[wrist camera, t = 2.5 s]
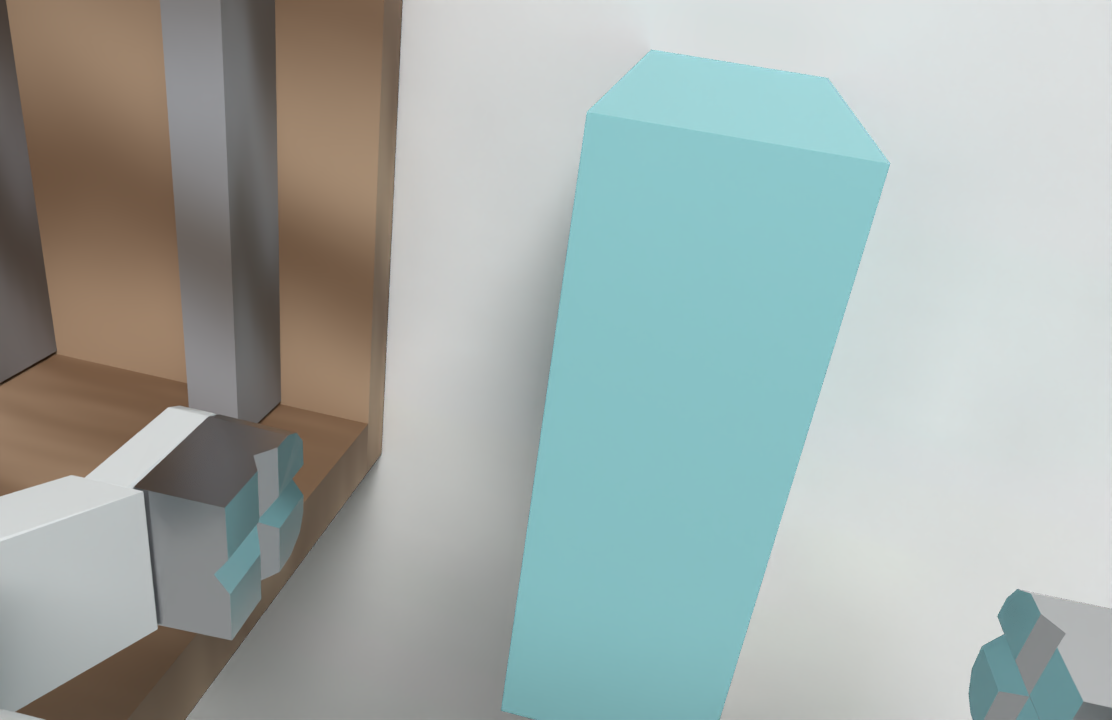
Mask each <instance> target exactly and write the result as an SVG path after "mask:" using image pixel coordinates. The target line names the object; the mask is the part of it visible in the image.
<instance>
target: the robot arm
mask: <svg viewBox="0 0 1112 720" xmlns="http://www.w3.org/2000/svg"><path fill="white" fill-rule="evenodd" d="M302 466H303V440H302V439H301V438H300V437H299V435H298V434H297V433H296V432H291V431H287V430H283V429H279V428H275V427H270V426H266V425H262V424H258V423H254V422H249V421H245V420H241V419H237V418H233V417H229V416H224V415H220V414H218V415H216V414H214V413H211V412H207V411H202V410H197V409H193V408H188V407H183V406H174V407H168V408H167V409H165V410H164V411H163V412H162V413H161V414H159V415H158V416H157V417H156V418H155V419H154V420H152V421H151V422H150V423H149V424H148V425H146V426H145V427H144V428H143V429H142V430H141V431H139V432H138V433H137V434H136V435H135V436H133V437H132V438H131V439H130V440H129V441H127V442H126V443H125V444H124V445H123V446H122V447H120V448H119V449H118V450H117V451H116V452H114V453H113V454H112V455H111V456H110V457H109V458H107V459H106V460H105V461H104V462H103V463H101V464H100V465H99V466H98V467H97V468H96V469H94V470H93V471H92V472H91V473H90V474H88V475H87V476H86V477H85V478H83V477H78V476H73V475H70V476H67V477H63V478H60V479H57V480H53V481H50V482H47V483H43V484H40V485H37V486H33V487H30V488H27V489H23V490H20V491H17V492H13V493H10V494H7V495H3V496H0V720H45V719H41V718H37V717H33V716H29V715H25V714H21V713H17V712H15V711H17V710H19V709H21V708H22V707H24V706H26V705H28V704H29V703H31V702H33V701H34V700H36V699H38V698H40V697H41V696H43V695H45V694H47V693H48V692H50V691H52V690H53V689H55V688H57V687H59V686H60V685H62V684H64V683H66V682H67V681H69V680H71V679H72V678H74V677H76V676H78V675H79V674H81V673H83V672H85V671H86V670H88V669H90V668H92V667H93V666H95V665H97V664H98V663H100V662H102V661H104V660H105V659H107V658H109V657H111V656H112V655H114V654H116V653H117V652H119V651H121V650H123V649H124V648H126V647H128V646H130V645H131V644H133V643H135V642H136V641H138V640H140V639H142V638H143V637H145V636H147V635H149V634H150V633H152V632H154V631H156V630H157V629H158V625H160V626H165V627H170V628H175V629H179V630H184V631H189V632H194V633H199V634H203V635H208V636H213V637H218V638H223V639H227V640H233V638H234V637H235V636H236V634H237V633H238V631H239V630H240V628H241V627H242V625H243V624H244V623H245V621H246V620H247V618H248V617H249V615H250V614H251V613H252V611H253V610H254V608H255V607H256V605H257V604H258V603H259V601H260V600H261V580H263V579H266V578H268V577H270V576H272V575H274V574H276V573H279V572H280V571H281V569H282V568H283V566H284V565H285V563H286V562H287V560H288V559H289V557H290V555H291V553H292V551H293V548H294V546H295V543H296V541H297V538H298V535H299V533H300V528H301V523H302V517H303V496H304V495H303V494H302V492H301V491H300V489H299V488H298V486H297V485H296V484H295V482H294V481H293V477H294V476H295V475H296V473H297V472H298V471H299V470H300V468H301V467H302ZM998 619H999V622H1000V624H1001V627H1002V629H1003V632H1004V635H1002V636H1000V637H998V638H996V639H994V640H993V641H991V642H989V643H987V644H985V645H983V646H982V648H981V650H980V652H979V654H978V657H977V659H976V661H975V663H974V665H973V668H972V672H971V679H970V687H969V702H970V711H971V716H972V719H973V720H1112V609H1111V608H1106V607H1101V606H1096V605H1092V604H1087V603H1082V602H1077V601H1072V600H1067V599H1063V598H1058V597H1053V596H1048V595H1043V594H1038V593H1034V592H1029V591H1024V590H1019V589H1017V590H1016V591H1015V592H1014V593H1012V594H1011V595H1010V596H1009V597H1008V598H1007V599H1006V601H1005V603H1004V605H1003V606H1002V608H1001V610H1000V612H999V614H998Z"/></svg>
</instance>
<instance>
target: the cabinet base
mask: <svg viewBox="0 0 1112 720" xmlns="http://www.w3.org/2000/svg"><path fill="white" fill-rule="evenodd" d="M401 17H402V0H0V496H3V495H7V494H10V493H13V492H17V491H20V490H23V489H27V488H30V487H33V486H37V485H40V484H43V483H47V482H50V481H53V480H57V479H60V478H63V477H67V476H70V475H73V476H78V477H83V478H85V477H86V476H87V475H88V474H90V473H91V472H92V471H93V470H94V469H96V468H97V467H98V466H99V465H100V464H101V463H103V462H104V461H105V460H106V459H107V458H109V457H110V456H111V455H112V454H113V453H114V452H116V451H117V450H118V449H119V448H120V447H122V446H123V445H124V444H125V443H126V442H127V441H129V440H130V439H131V438H132V437H133V436H135V435H136V434H137V433H138V432H139V431H141V430H142V429H143V428H144V427H145V426H146V425H148V424H149V423H150V422H151V421H152V420H154V419H155V418H156V417H157V416H158V415H159V414H161V413H162V412H163V411H164V410H165V409H167V408H168V407H174V406H183V407H188V408H193V409H197V410H202V411H207V412H211V413H214V414H216V415H218V414H220V415H224V416H229V417H233V418H237V419H241V420H245V421H249V422H254V423H258V424H262V425H266V426H270V427H275V428H279V429H283V430H287V431H291V432H296V433H297V434H298V435H299V437H300V438H301V439H302V440H303V466H302V467H301V468H300V470H299V471H298V472H297V473H296V475H295V476H294V477H293V481H294V482H295V484H296V485H297V486H298V488H299V489H300V491H301V492H302V494H303V495H304V496H303V517H302V523H301V528H300V533H299V535H298V538H297V541H296V543H295V546H294V548H293V551H292V553H291V555H290V557H289V559H288V560H287V562H286V563H285V565H284V566H283V568H282V569H281V571H280V572H279V573H276V574H274V575H272V576H270V577H268V578H266V579H263V580H261V600H260V601H259V603H258V604H257V605H256V607H255V608H254V610H253V611H252V613H251V614H250V615H249V617H248V618H247V620H246V621H245V623H244V624H243V625H242V627H241V628H240V630H239V631H238V633H237V634H236V636H235V637H234V638H233V640H227V639H223V638H218V637H213V636H208V635H203V634H199V633H194V632H189V631H184V630H179V629H175V628H170V627H165V626H160V625H158V629H157V630H156V631H154V632H152V633H150V634H149V635H147V636H145V637H143V638H142V639H140V640H138V641H136V642H135V643H133V644H131V645H130V646H128V647H126V648H124V649H123V650H121V651H119V652H117V653H116V654H114V655H112V656H111V657H109V658H107V659H105V660H104V661H102V662H100V663H98V664H97V665H95V666H93V667H92V668H90V669H88V670H86V671H85V672H83V673H81V674H79V675H78V676H76V677H74V678H72V679H71V680H69V681H67V682H66V683H64V684H62V685H60V686H59V687H57V688H55V689H53V690H52V691H50V692H48V693H47V694H45V695H43V696H41V697H40V698H38V699H36V700H34V701H33V702H31V703H29V704H28V705H26V706H24V707H22V708H21V709H19V710H17V711H15V712H17V713H21V714H25V715H29V716H33V717H37V718H41V719H45V720H185V719H186V718H187V716H188V715H189V714H190V712H191V711H192V710H193V708H194V707H195V705H196V704H197V703H198V701H199V700H200V699H201V697H202V696H203V695H204V693H205V692H206V691H207V689H208V688H209V686H210V685H211V684H212V682H213V681H214V680H215V678H216V677H217V676H218V674H219V673H220V672H221V670H222V669H223V668H224V666H225V665H226V663H227V662H228V661H229V659H230V658H231V657H232V655H233V654H234V653H235V651H236V650H237V649H238V647H239V646H240V645H241V643H242V642H243V640H244V639H245V638H246V636H247V635H248V634H249V632H250V631H251V630H252V628H253V627H254V626H255V624H256V623H257V622H258V620H259V619H260V617H261V616H262V615H263V613H264V612H265V611H266V609H267V608H268V607H269V605H270V604H271V603H272V601H273V600H274V598H275V597H276V596H277V594H278V593H279V592H280V590H281V589H282V588H283V586H284V585H285V584H286V582H287V581H288V580H289V578H290V577H291V575H292V574H293V573H294V571H295V570H296V569H297V567H298V566H299V565H300V563H301V562H302V561H303V559H304V558H305V557H306V555H307V554H308V552H309V551H310V550H311V548H312V547H313V546H314V544H315V543H316V542H317V540H318V539H319V538H320V536H321V535H322V534H323V532H324V531H325V529H326V528H327V527H328V525H329V524H330V523H331V521H332V520H333V519H334V517H335V516H336V515H337V513H338V512H339V510H340V509H341V508H342V506H343V505H344V504H345V502H346V501H347V500H348V498H349V497H350V496H351V494H352V493H353V492H354V490H355V489H356V487H357V486H358V485H359V483H360V482H361V481H362V479H363V478H364V477H365V475H366V474H367V473H368V471H369V470H370V469H371V467H372V466H373V464H374V463H375V462H376V460H377V459H378V458H379V456H380V455H381V449H382V428H383V406H384V384H385V363H386V341H387V320H388V298H389V276H390V255H391V233H392V212H393V190H394V168H395V147H396V125H397V103H398V82H399V60H400V39H401Z"/></svg>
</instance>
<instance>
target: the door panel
mask: <svg viewBox="0 0 1112 720" xmlns="http://www.w3.org/2000/svg"><path fill="white" fill-rule="evenodd" d="M889 166H890V163H889V161H888V160H887V159H886V157H885V156H884V155H883V153H882V152H881V150H880V149H879V148H878V146H877V145H876V144H875V142H874V141H873V139H872V138H871V137H870V135H869V134H868V133H867V131H866V130H865V128H864V127H863V126H862V124H861V123H860V122H859V120H858V119H857V117H856V116H855V115H854V113H853V112H852V111H851V109H850V108H849V106H848V105H847V104H846V102H845V101H844V100H843V98H842V97H841V95H840V94H839V93H838V91H837V90H836V89H835V87H834V86H833V84H832V83H831V82H830V80H829V79H828V78H824V77H818V76H812V75H806V74H800V73H793V72H787V71H781V70H775V69H768V68H762V67H756V66H750V65H744V64H737V63H731V62H725V61H719V60H713V59H706V58H700V57H694V56H688V55H682V54H675V53H669V52H663V51H657V50H651V51H650V52H648V53H647V54H646V55H645V56H644V57H643V58H642V59H641V60H640V61H639V62H638V63H637V64H636V65H635V66H634V67H633V68H632V69H631V70H630V71H629V72H628V73H627V74H626V75H625V76H624V77H623V78H622V79H621V80H619V81H618V82H617V83H616V84H615V85H614V86H613V87H612V88H611V89H610V90H609V91H608V92H607V93H606V94H605V95H604V96H603V97H602V98H601V99H600V100H599V101H598V102H597V103H596V104H595V105H594V106H593V107H592V108H590V109H589V110H588V111H587V115H586V122H585V129H584V136H583V143H582V150H581V157H580V164H579V171H578V178H577V185H576V192H575V199H574V206H573V213H572V220H571V227H570V234H569V241H568V248H567V255H566V262H565V269H564V275H563V282H562V289H561V296H560V303H559V310H558V317H557V324H556V331H555V338H554V345H553V352H552V359H551V366H550V373H549V380H548V387H547V394H546V401H545V408H544V415H543V422H542V429H541V436H540V443H539V450H538V457H537V464H536V470H535V477H534V484H533V491H532V498H531V505H530V512H529V519H528V526H527V533H526V540H525V547H524V554H523V561H522V568H521V575H520V582H519V589H518V596H517V603H516V610H515V617H514V624H513V631H512V638H511V645H510V652H509V658H508V665H507V672H506V679H505V686H504V693H503V700H502V707H501V711H504V712H508V713H512V714H516V715H519V716H523V717H527V718H531V719H535V720H720V716H721V713H722V710H723V707H724V703H725V700H726V697H727V694H728V690H729V687H730V684H731V680H732V677H733V674H734V671H735V667H736V664H737V661H738V658H739V654H740V651H741V648H742V645H743V641H744V638H745V635H746V632H747V628H748V625H749V622H750V619H751V615H752V612H753V609H754V606H755V602H756V599H757V596H758V593H759V589H760V586H761V583H762V580H763V576H764V573H765V570H766V567H767V563H768V560H769V557H770V553H771V550H772V547H773V544H774V540H775V537H776V534H777V531H778V527H779V524H780V521H781V518H782V514H783V511H784V508H785V505H786V501H787V498H788V495H789V492H790V488H791V485H792V482H793V479H794V475H795V472H796V469H797V466H798V462H799V459H800V456H801V453H802V449H803V446H804V443H805V440H806V436H807V433H808V430H809V426H810V423H811V420H812V417H813V413H814V410H815V407H816V404H817V400H818V397H819V394H820V391H821V387H822V384H823V381H824V378H825V374H826V371H827V368H828V365H829V361H830V358H831V355H832V352H833V348H834V345H835V342H836V339H837V335H838V332H839V329H840V326H841V322H842V319H843V316H844V313H845V309H846V306H847V303H848V300H849V296H850V293H851V290H852V286H853V283H854V280H855V277H856V273H857V270H858V267H859V264H860V260H861V257H862V254H863V251H864V247H865V244H866V241H867V238H868V234H869V231H870V228H871V225H872V221H873V218H874V215H875V212H876V208H877V205H878V202H879V199H880V195H881V192H882V189H883V186H884V182H885V179H886V176H887V173H888V169H889Z"/></svg>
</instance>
